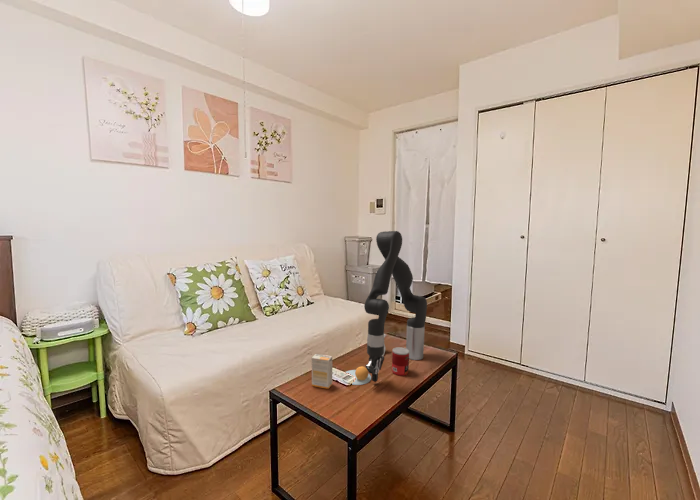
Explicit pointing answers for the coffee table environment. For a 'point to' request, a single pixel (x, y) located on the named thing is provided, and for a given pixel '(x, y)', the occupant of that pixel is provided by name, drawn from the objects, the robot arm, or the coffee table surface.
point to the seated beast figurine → (384, 345)
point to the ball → (361, 373)
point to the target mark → (357, 381)
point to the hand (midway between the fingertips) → (374, 380)
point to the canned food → (400, 361)
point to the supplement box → (322, 371)
